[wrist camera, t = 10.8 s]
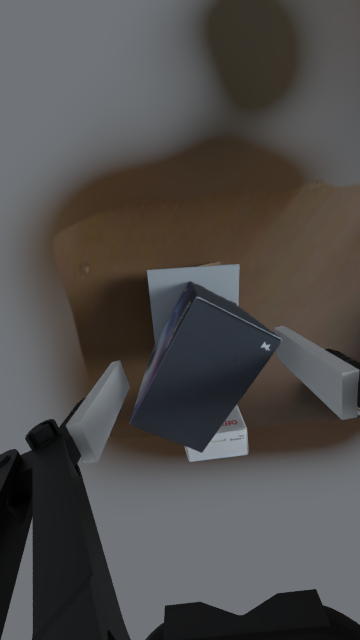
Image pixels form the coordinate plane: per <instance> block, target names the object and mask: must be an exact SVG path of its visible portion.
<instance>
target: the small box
mask: <svg viewBox="0 0 360 640" xmlns="http://www.w3.org/2000/svg"><path fill="white" fill-rule="evenodd" d="M281 342H282V339H281V337H280V336H278V335H277V334H275V333H274V332H272V331H270V330H269V329H268V328H266V327H265V326H264V325H262V324H261V323H260V322H259V321H257V320H256V319H255V318H253V317H252V316H251V315H249V314H248V313H247V312H245V311H244V310H242V309H241V308H240V307H238V306H237V304H236V303H234V302H232V301H230V300H226V298H223V297H222V296H219V295H217V294H215V293H213V292H212V291H209V290H207V289H205V287H202V286H201V285H198V284H195V283H193V282H191V281H189V282H188V284H187V285H186V287H185V289H184V291H183V292H182V294H181V296H180V298H179V300H178V302H177V304H176V306H175V308H174V310H173V312H172V313H171V315H170V317H169V319H168V321H167V323H166V325H165V327H164V329H163V331H162V333H161V335H160V337H159V339H158V341H157V343H156V345H155V347H154V349H153V351H152V354H151V356H150V359H149V362H148V365H147V368H146V371H145V374H144V378H143V381H142V383H141V386H140V390H139V393H138V396H137V400H136V403H135V406H134V409H133V412H132V416H131V419H130V424H131V425H133V426H135V427H138V428H140V429H142V430H145V431H147V432H150V433H153V434H155V435H158V436H160V437H163V438H166V439H168V440H171V441H173V442H176V443H179V444H181V445H183V446H186V447H189V448H191V449H193V450H196V451H198V452H200V453H202V452H203V451H204V450H205V448H206V447H207V445H208V444H209V443H210V441H211V440H212V438H213V437H214V436H215V434H216V433H217V432H218V430H219V429H220V427H221V426H222V425H223V423H224V422H225V420H226V419H227V418H228V416H229V415H230V413H231V412H232V410H233V409H234V408H235V406H236V405H237V403H238V402H239V401H240V399H241V398H242V397H243V395H244V394H245V392H246V391H247V390H248V388H249V387H250V385H251V384H252V383H253V381H254V380H255V378H256V377H257V376H258V374H259V373H260V371H261V370H262V369H263V367H264V366H265V364H266V363H267V362H268V360H269V359H270V357H271V356H272V355H273V353H274V352H275V350H276V349H277V348H278V346H279V345H280V344H281Z"/></svg>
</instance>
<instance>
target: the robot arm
mask: <svg viewBox="0 0 360 640" xmlns="http://www.w3.org/2000/svg"><path fill="white" fill-rule="evenodd" d="M274 332H275V334H277V335H278V336H280V337H281V339H282V342H281V344H280V345H279V346H278V348H277V349H276V352H277V358H278V359H279V360H280V361H281V362H282V363H283V364H284V365H285V366H286V367H287V368H288V369H289V370H290V371H291V372H292V373H293V374H294V375H295V376H297V377H298V378H299V379H300V380H301V381H302V382H303V383H304V384H305V385H306V386H307V387H308V388H309V389H310V390H311V391H312V392H313V393H314V394H315V395H316V396H317V397H318V398H319V399H321V400H322V401H323V402H324V403H325V404H326V405H327V406H328V407H329V408H330V409H331V410H332V411H333V412H334V413H335V414H336V415H337V416H338V417H339V418H340V419H341V420H345V419H350V418H356V417H358V408H360V363H359V362H357V361H355V360H353V359H351V358H350V357H347V356H346V355H344V354H342V353H340V352H338V351H335V350H332V349H325V350H324V349H323V348H321V347H319V346H317V345H316V344H314V343H312V342H311V341H309V340H307V339H305V338H304V337H302V336H300V335H299V334H297V333H295V332H293V331H292V330H290V329H288V328H287V327H285V326H280V327H276V328H274ZM129 388H130V386H129V383H128V381H127V378H126V375H125V372H124V369H123V367H122V364H121V361H115V362H112V363H111V364H110V365H109V367H108V368H107V369H106V371H105V372H104V374H103V375H102V376H101V378H100V379H99V380H98V382H97V383H96V385H95V386H94V387H93V389H92V390H91V391H90V393H89V394H88V395H87V397H86V398H83V399H82V400H81V401H80V402H79V403H77V405H76V406H75V407H74V409H73V411H71V413H70V414H69V416H68V417H67V418H66V419H65V421H64V422H63V423H62V424H61V426H60V427H58V426H57V424H56V422H55V420H54V419H50V420H46V421H44V422H42V423H40V424H38V425H37V426H35V427H34V428H33V429H32V430H31V431H29V433H28V434H27V435H26V438H25V439H26V441H27V443H28V444H29V446H30V448H31V449H32V450H31V451H29V452H27V453H24V454H22V455H20V454H19V452H18V451H17V450H16V449H13V450H9V451H6V452H5V453H3V454H1V455H0V640H1V636H2V632H3V628H4V624H5V621H6V617H7V613H8V609H9V605H10V601H11V598H12V593H13V590H14V586H15V582H16V578H17V574H18V570H19V567H20V563H21V558H22V555H23V551H24V547H25V543H26V540H27V535H28V532H29V528H30V524H31V520H32V516H33V637H32V640H131V639H130V637H129V635H128V632H127V629H126V627H125V624H124V621H123V618H122V614H121V611H120V607H119V604H118V600H117V597H116V593H115V590H114V587H113V583H112V579H111V576H110V572H109V569H108V566H107V562H106V559H105V555H104V552H103V548H102V545H101V541H100V538H99V534H98V531H97V527H96V524H95V520H94V517H93V513H92V510H91V506H90V503H89V499H88V496H87V493H86V489H85V486H84V482H83V478H82V475H81V472H80V468H79V466H78V464H77V463H78V461H79V459H80V457H82V459H83V461H84V463H85V464H88V463H94V462H98V460H99V458H100V456H101V453H102V451H103V449H104V446H105V444H106V442H107V439H108V437H109V435H110V432H111V430H112V428H113V425H114V423H115V421H116V418H117V416H118V414H119V411H120V409H121V407H122V404H123V402H124V400H125V397H126V395H127V393H128V390H129ZM145 640H360V625H359V624H358V623H357V622H355V621H353V620H352V619H350V618H349V617H347V616H346V615H344V614H342V613H340V612H338V611H336V610H334V609H332V608H330V607H326V606H324V605H322V603H321V600H320V598H319V595H318V593H317V591H316V589H313V590H304V591H295V592H286V593H278V594H276V595H274V596H273V597H271V598H270V599H268V600H266V601H265V602H263V603H262V604H260V605H259V606H257V607H256V608H254V609H252V610H251V611H249V612H248V613H246V614H245V615H236V614H233V613H230V612H227V611H224V610H222V609H219V608H216V607H213V606H210V605H207V604H204V603H202V602H195V603H186V604H176V605H167V606H165V616H164V623H162V624H161V625H160V626H158V627H157V628H156V629H155V630H154V631H153V632H152V633H151V634H150V635H149V636H148V637H147V638H146V639H145Z"/></svg>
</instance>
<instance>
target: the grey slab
mask: <svg viewBox="0 0 360 640" xmlns="http://www.w3.org/2000/svg"><path fill="white" fill-rule="evenodd" d="M147 276H148V285H149V294H150V303H151V312H152V321H153V331H154V340H155V345H156V343H157V341H158V339H159V337H160V335H161V333H162V331H163V329H164V327H165V325H166V323H167V321H168V319H169V317H170V315H171V313H172V312H173V310H174V308H175V306H176V304H177V302H178V300H179V298H180V296H181V294H182V292H183V291H184V289H185V287H186V285H187V284H188V282H189V281H191V282H193V283H195V284H198V285H201V286H202V287H205V289H207V290H209V291H212V292H213V293H215V294H217V295H219V296H222V297H223V298H226V300H230V301H232V302H234V303H236V304H237V306H238V297H239V264H231V265H213V266H198V267H183V268H167V269H152V270H147Z"/></svg>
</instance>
